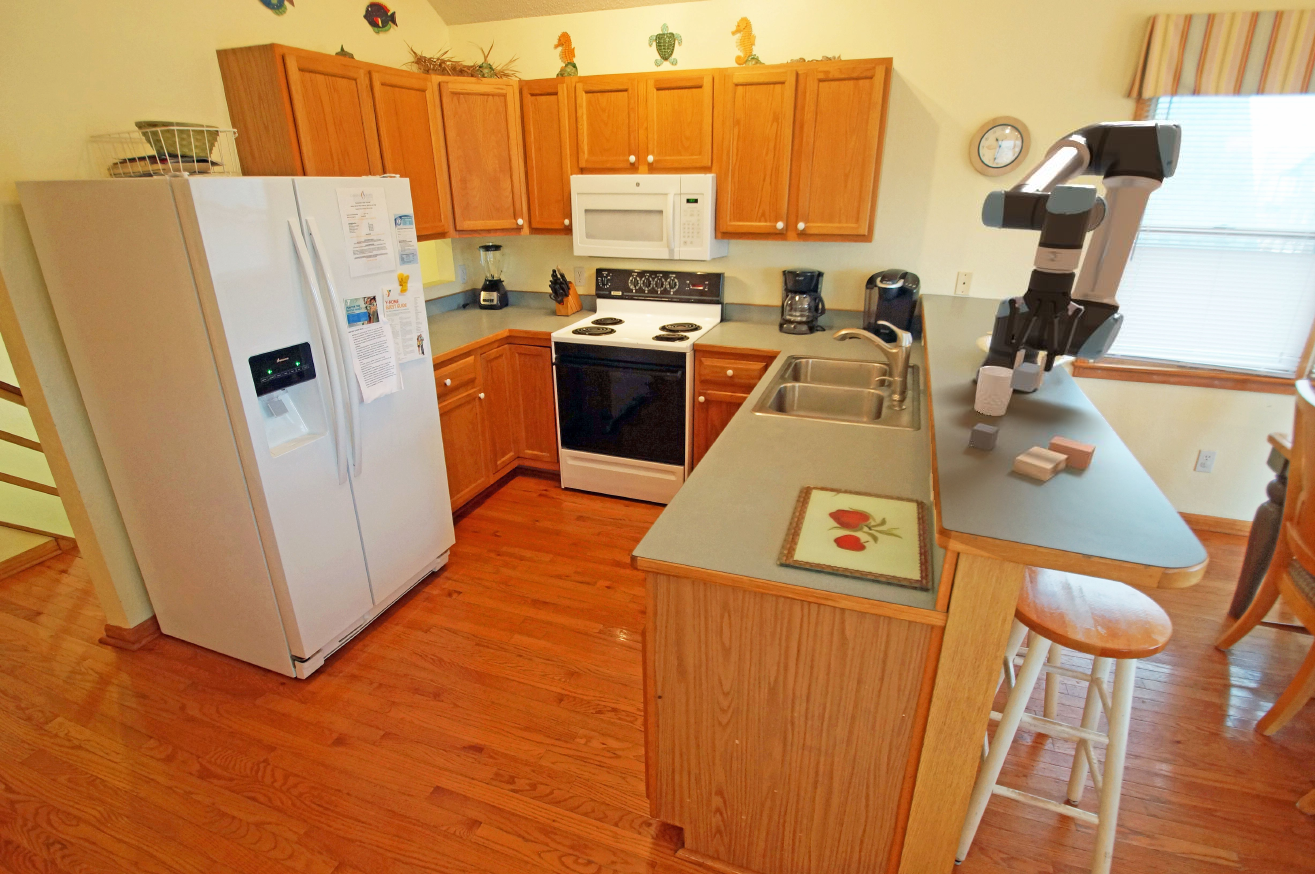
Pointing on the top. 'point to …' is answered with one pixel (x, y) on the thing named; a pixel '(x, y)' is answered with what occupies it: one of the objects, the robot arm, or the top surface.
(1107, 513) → the top surface
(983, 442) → the charcoal block
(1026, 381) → the blue block
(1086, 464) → the terracotta block
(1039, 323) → the robot arm
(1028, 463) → the maple block
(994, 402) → the white cup
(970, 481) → the top surface
